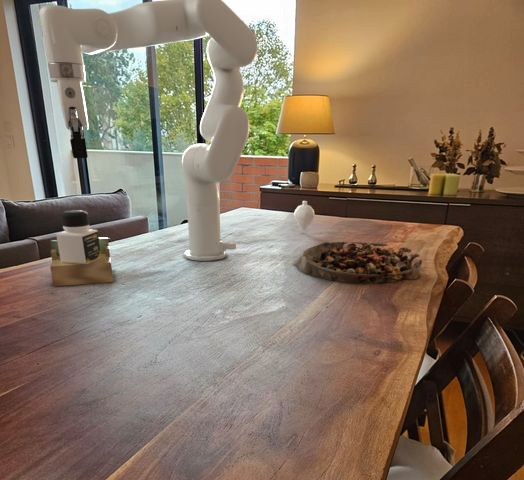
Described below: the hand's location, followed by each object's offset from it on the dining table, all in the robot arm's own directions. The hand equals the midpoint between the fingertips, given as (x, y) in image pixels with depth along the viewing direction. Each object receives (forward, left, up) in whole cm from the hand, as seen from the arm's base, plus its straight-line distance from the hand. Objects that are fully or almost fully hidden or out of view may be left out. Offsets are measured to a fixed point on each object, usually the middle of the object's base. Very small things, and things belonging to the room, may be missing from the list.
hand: (80, 156), depth 110 cm
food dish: (-70, +15, -29) cm, 77 cm away
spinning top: (-76, -37, -29) cm, 89 cm away
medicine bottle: (+3, +5, -24) cm, 25 cm away
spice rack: (+3, +4, -29) cm, 29 cm away
